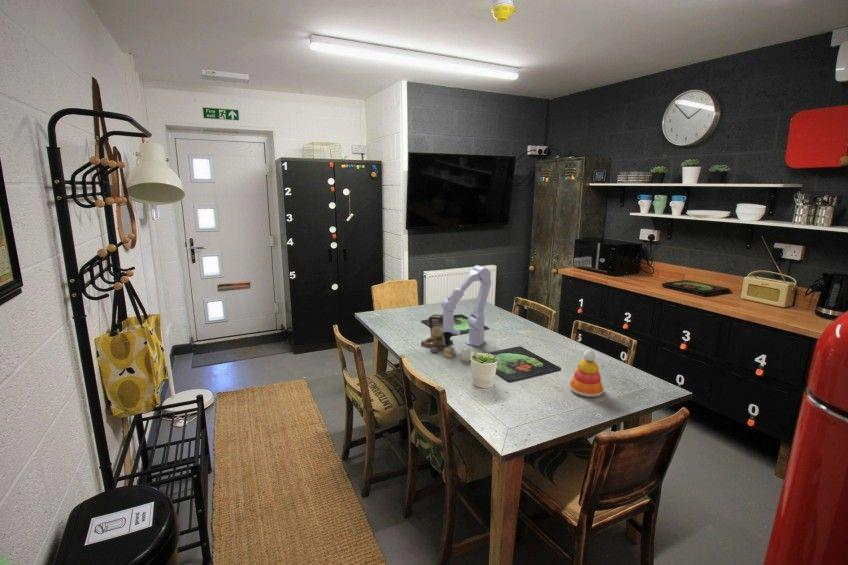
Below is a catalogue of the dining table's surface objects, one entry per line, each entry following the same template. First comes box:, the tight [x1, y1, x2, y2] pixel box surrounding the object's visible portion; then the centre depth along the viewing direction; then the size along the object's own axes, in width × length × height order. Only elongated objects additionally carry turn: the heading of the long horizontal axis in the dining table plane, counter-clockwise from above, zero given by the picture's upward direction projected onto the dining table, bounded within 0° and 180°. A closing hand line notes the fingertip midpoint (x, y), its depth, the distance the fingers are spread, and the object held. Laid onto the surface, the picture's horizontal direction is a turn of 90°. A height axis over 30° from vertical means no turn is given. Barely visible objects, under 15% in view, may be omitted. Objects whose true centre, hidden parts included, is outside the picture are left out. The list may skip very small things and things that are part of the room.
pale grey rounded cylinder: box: [460, 346, 472, 363], centre depth 211 cm, size 5×5×6 cm
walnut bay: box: [420, 336, 454, 351], centre depth 232 cm, size 12×13×2 cm
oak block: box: [443, 345, 455, 358], centre depth 217 cm, size 4×4×4 cm
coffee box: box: [428, 314, 451, 346], centre depth 231 cm, size 9×6×16 cm
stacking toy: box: [568, 349, 605, 398], centre depth 178 cm, size 14×14×20 cm
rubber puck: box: [430, 347, 439, 354], centre depth 222 cm, size 4×4×2 cm
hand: (447, 344), depth 228 cm, fingers closed, pressing on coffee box
